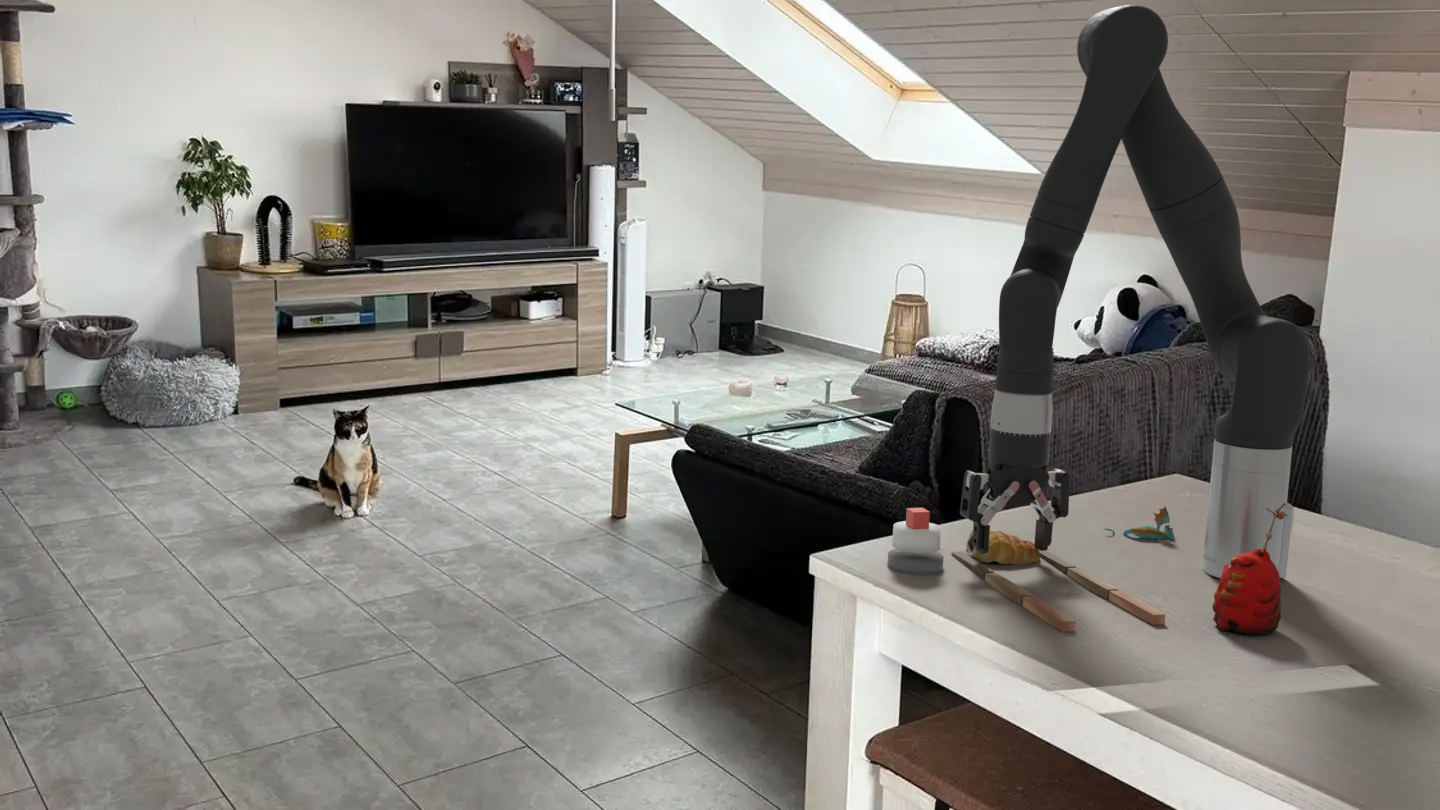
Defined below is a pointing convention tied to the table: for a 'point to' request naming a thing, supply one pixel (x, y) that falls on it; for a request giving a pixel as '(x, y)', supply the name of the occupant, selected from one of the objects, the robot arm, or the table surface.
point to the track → (1050, 612)
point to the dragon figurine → (1154, 529)
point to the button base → (915, 562)
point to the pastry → (1005, 550)
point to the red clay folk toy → (1250, 591)
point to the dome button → (916, 533)
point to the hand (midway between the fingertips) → (1011, 550)
